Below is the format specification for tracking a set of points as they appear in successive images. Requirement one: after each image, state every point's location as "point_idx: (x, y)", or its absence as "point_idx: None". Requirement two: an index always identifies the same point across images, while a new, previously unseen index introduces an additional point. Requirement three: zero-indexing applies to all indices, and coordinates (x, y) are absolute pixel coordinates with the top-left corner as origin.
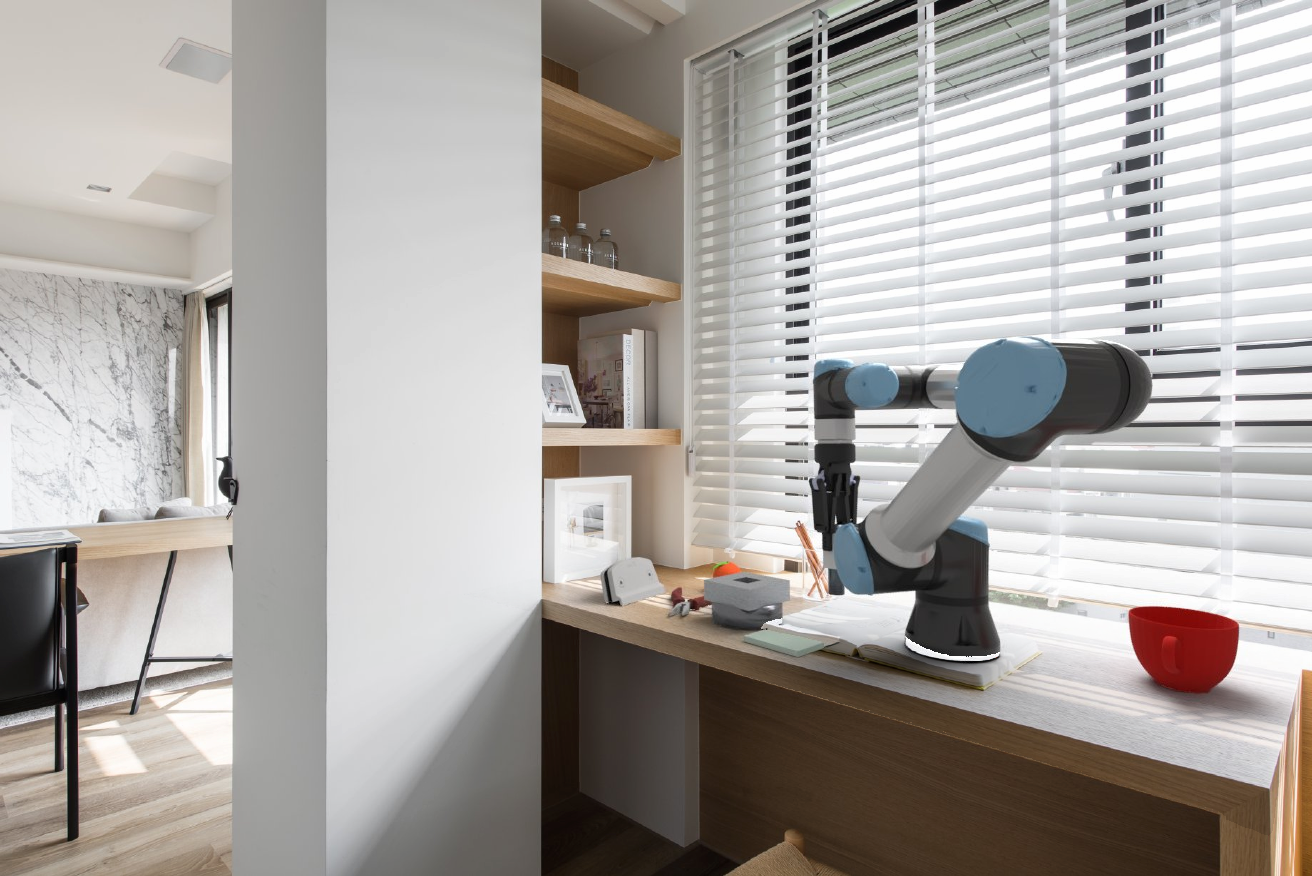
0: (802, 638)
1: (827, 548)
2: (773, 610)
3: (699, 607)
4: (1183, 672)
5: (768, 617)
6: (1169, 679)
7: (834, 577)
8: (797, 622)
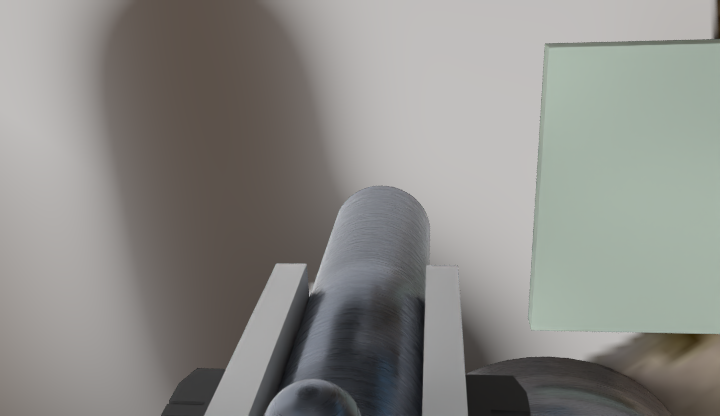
0: (696, 147)
1: (526, 403)
2: (566, 404)
3: None
4: None
5: (591, 390)
6: None
7: (425, 261)
8: None
